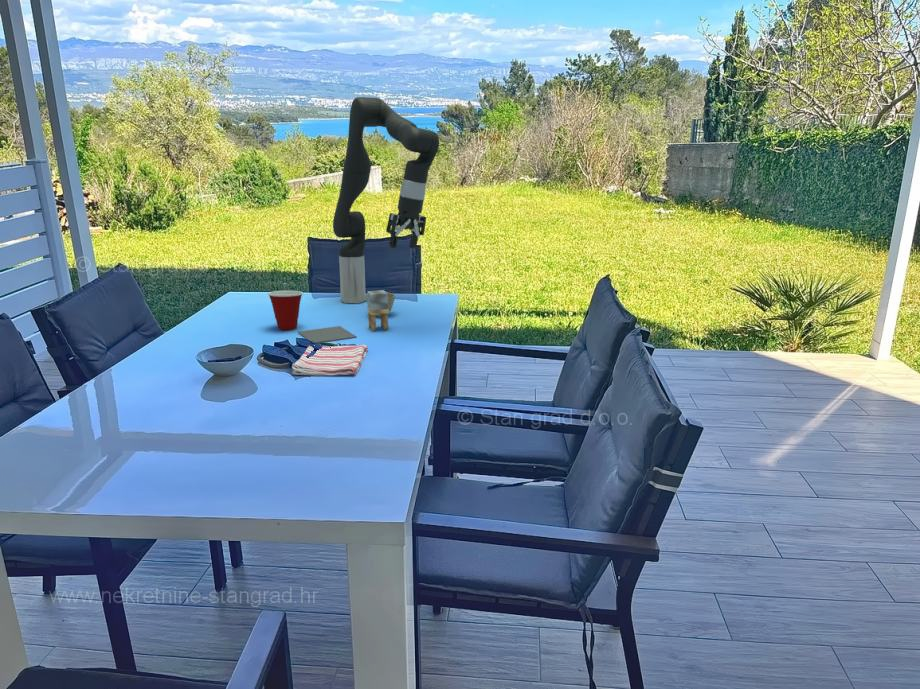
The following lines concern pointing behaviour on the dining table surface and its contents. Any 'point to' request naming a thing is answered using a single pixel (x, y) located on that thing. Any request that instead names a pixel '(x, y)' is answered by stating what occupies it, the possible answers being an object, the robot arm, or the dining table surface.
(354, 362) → the dish towel
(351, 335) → the mat
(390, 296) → the flower pot
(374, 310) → the stool
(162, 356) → the dining table surface
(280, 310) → the plastic cup
